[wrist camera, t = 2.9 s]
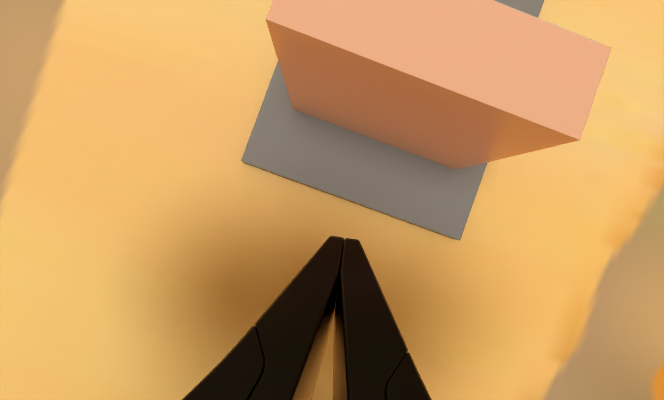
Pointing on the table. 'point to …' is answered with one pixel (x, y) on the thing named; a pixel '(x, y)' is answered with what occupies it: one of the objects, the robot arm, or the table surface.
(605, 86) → the table surface
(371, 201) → the mat
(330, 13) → the salmon pink block
